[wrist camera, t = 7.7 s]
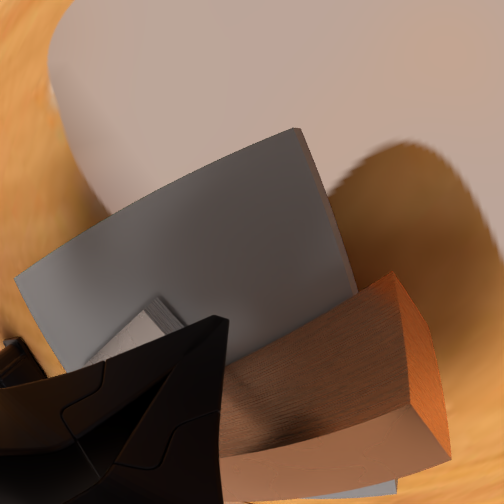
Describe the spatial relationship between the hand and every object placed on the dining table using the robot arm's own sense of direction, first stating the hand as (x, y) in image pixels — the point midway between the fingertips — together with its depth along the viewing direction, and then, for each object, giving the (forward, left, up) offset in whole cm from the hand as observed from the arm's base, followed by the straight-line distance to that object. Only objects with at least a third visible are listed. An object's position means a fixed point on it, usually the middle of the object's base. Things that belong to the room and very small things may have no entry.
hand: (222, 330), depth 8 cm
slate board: (-7, -6, -4) cm, 10 cm away
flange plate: (-3, -5, -2) cm, 6 cm away
